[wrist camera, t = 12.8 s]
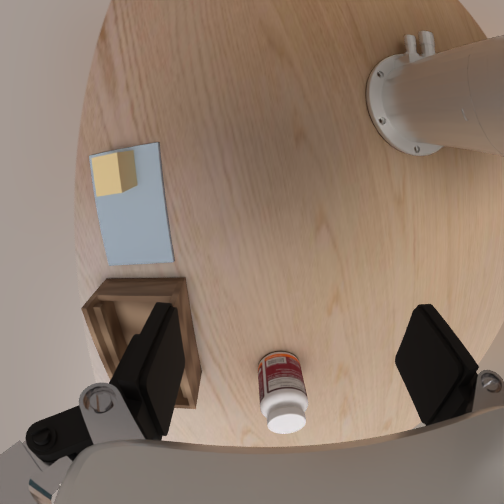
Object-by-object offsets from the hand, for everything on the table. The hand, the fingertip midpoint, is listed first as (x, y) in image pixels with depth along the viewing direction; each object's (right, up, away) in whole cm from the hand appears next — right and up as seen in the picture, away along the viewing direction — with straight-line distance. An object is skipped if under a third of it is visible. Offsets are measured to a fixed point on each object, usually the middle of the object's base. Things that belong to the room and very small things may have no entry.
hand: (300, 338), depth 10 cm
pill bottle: (+2, -13, +30) cm, 33 cm away
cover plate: (-16, +9, +21) cm, 28 cm away
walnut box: (-15, -7, +27) cm, 32 cm away
